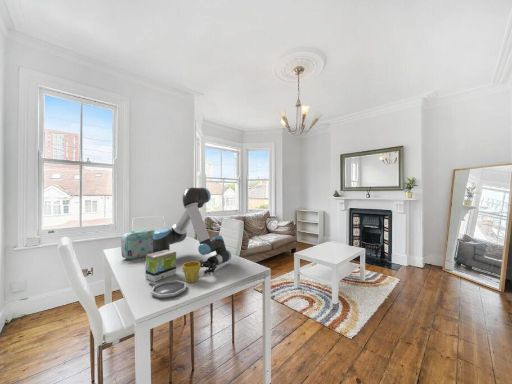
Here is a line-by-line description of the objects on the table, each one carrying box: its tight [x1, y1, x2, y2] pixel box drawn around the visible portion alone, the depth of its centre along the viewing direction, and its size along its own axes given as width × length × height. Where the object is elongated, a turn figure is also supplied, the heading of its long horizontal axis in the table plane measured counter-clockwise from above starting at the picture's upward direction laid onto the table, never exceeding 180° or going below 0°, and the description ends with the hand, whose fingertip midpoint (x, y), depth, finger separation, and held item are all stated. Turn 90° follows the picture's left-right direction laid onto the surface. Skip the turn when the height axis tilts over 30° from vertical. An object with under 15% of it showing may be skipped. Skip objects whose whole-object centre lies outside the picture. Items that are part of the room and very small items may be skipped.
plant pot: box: [182, 261, 201, 283], centre depth 130 cm, size 10×10×10 cm
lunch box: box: [120, 229, 156, 260], centre depth 176 cm, size 27×10×21 cm, turn 148°
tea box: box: [144, 249, 177, 283], centre depth 136 cm, size 15×10×15 cm
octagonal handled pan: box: [148, 279, 187, 300], centre depth 118 cm, size 25×17×2 cm
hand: (191, 272), depth 129 cm, fingers open, 13 cm apart
